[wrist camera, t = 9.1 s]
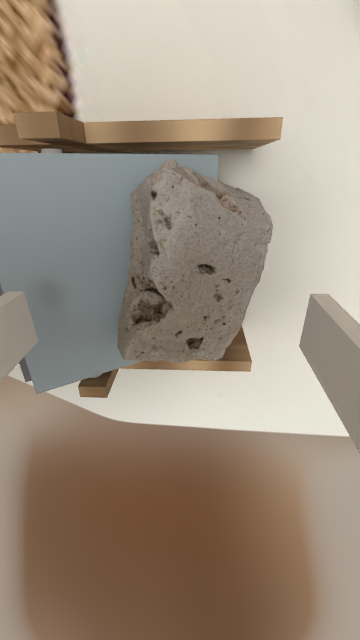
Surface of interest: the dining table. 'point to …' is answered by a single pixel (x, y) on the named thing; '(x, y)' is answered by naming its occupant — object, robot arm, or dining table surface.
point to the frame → (144, 136)
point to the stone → (189, 266)
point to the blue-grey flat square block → (73, 252)
